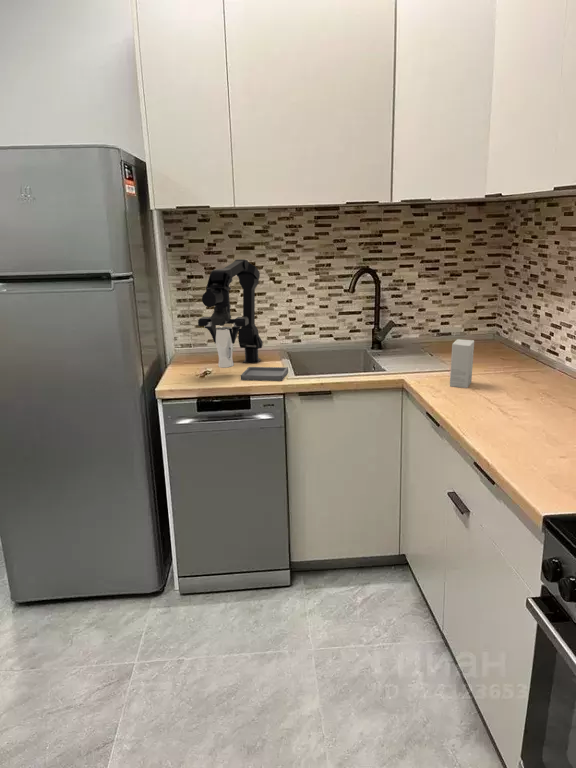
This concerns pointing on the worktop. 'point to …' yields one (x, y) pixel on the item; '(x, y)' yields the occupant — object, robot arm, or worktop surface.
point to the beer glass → (224, 346)
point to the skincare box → (461, 363)
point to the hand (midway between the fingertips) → (224, 343)
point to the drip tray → (264, 373)
